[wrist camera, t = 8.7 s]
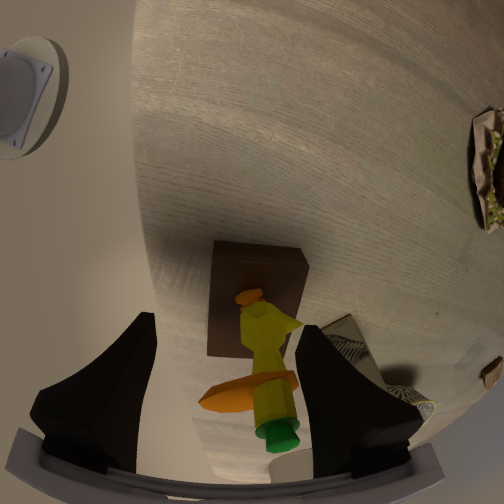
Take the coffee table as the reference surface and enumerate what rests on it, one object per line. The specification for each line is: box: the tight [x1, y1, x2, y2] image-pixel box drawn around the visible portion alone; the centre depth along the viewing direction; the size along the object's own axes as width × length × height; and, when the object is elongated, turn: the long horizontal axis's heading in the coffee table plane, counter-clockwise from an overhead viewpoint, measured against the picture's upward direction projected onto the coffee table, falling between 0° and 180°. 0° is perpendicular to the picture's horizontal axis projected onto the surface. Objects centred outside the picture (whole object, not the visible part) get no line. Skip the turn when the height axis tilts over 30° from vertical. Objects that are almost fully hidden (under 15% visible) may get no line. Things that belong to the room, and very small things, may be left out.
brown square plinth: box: [207, 241, 309, 359], centre depth 23 cm, size 10×7×3 cm
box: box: [321, 316, 389, 393], centre depth 22 cm, size 5×4×13 cm
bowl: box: [385, 384, 436, 428], centre depth 31 cm, size 16×16×8 cm
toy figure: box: [198, 288, 303, 453], centre depth 15 cm, size 7×4×12 cm, turn 111°
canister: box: [269, 449, 313, 497], centre depth 37 cm, size 16×16×20 cm
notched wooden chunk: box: [482, 357, 503, 389], centre depth 38 cm, size 7×6×5 cm
